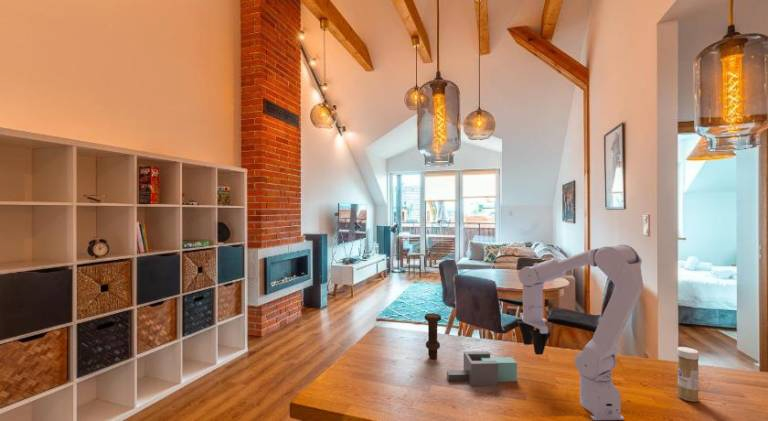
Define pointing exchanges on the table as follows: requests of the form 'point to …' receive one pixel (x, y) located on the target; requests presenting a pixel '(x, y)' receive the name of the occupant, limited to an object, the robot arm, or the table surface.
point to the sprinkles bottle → (688, 373)
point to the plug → (504, 367)
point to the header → (476, 370)
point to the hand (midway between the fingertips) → (533, 349)
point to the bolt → (432, 334)
